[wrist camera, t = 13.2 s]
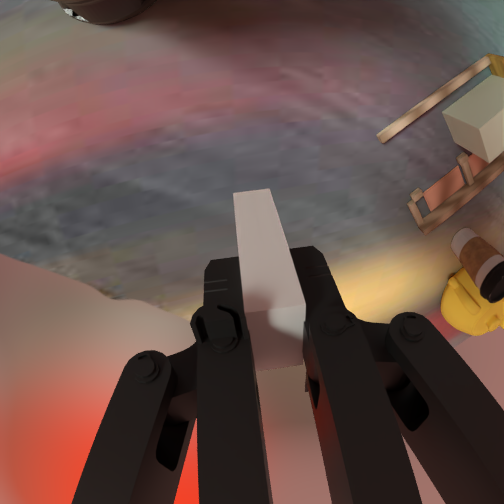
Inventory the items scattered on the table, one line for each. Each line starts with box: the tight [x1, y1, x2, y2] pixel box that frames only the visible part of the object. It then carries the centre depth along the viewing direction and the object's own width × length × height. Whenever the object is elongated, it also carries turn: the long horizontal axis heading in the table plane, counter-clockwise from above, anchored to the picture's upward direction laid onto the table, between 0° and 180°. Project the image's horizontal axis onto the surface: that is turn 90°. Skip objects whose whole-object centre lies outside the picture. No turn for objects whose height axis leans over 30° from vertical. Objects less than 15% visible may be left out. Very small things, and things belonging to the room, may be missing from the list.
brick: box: [442, 75, 504, 163], centre depth 33 cm, size 14×6×9 cm, turn 130°
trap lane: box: [376, 54, 504, 236], centre depth 38 cm, size 28×20×4 cm
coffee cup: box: [451, 228, 504, 303], centre depth 46 cm, size 8×8×15 cm
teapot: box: [441, 267, 504, 336], centre depth 55 cm, size 25×18×14 cm
